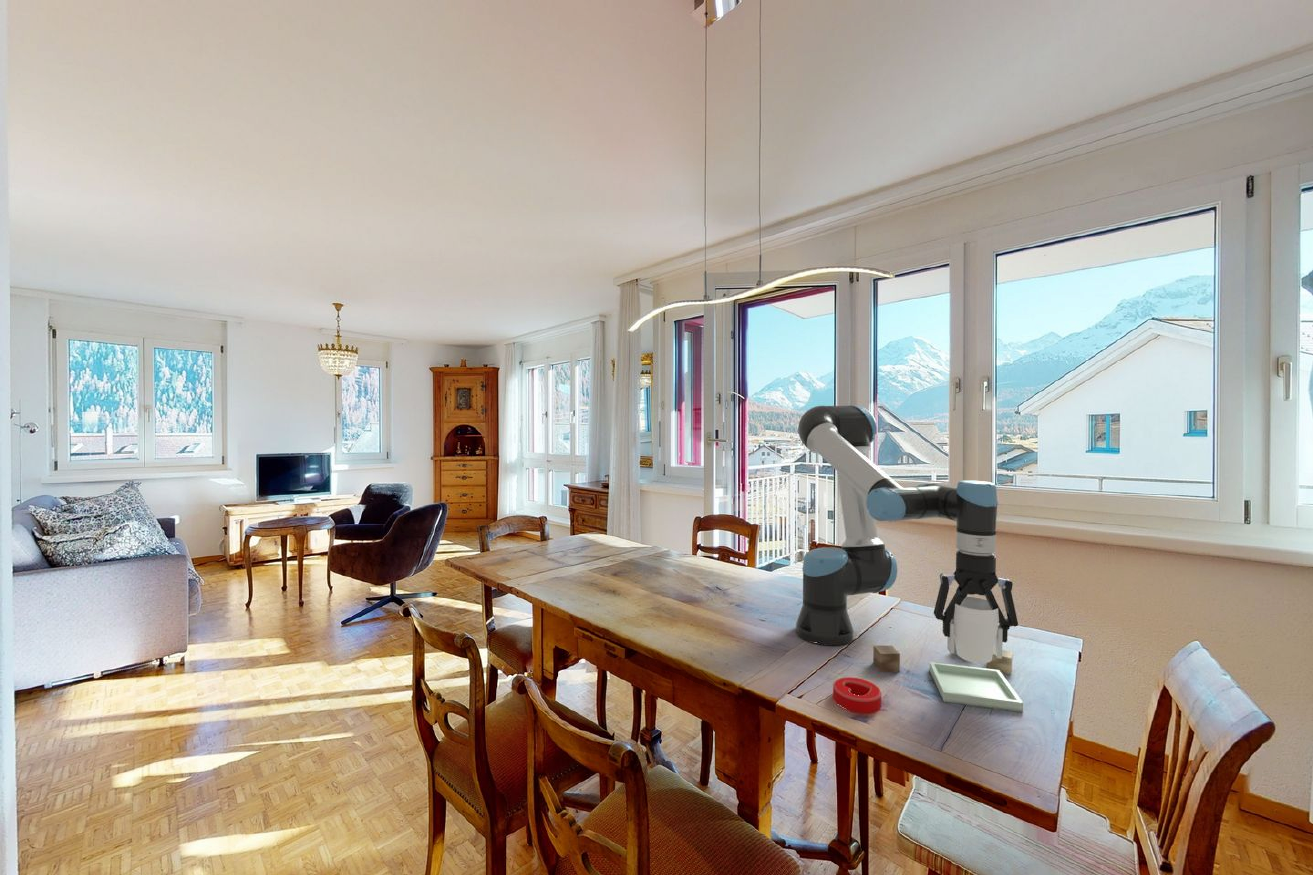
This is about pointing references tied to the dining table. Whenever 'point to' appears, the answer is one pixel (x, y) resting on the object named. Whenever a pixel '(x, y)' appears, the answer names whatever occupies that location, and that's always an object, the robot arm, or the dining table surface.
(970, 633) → the cup
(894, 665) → the walnut block
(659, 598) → the dining table surface
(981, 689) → the tray
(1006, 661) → the oak block
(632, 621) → the dining table surface
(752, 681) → the dining table surface
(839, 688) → the decorative ornament
